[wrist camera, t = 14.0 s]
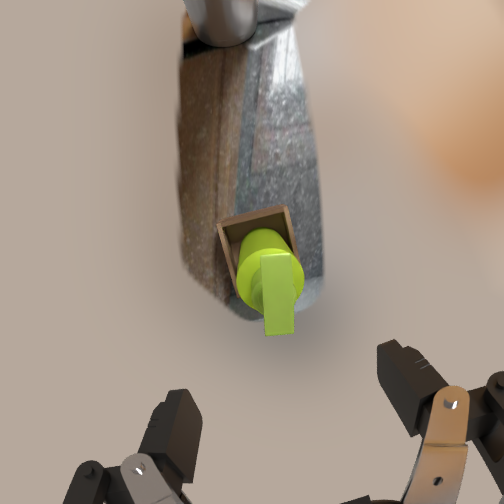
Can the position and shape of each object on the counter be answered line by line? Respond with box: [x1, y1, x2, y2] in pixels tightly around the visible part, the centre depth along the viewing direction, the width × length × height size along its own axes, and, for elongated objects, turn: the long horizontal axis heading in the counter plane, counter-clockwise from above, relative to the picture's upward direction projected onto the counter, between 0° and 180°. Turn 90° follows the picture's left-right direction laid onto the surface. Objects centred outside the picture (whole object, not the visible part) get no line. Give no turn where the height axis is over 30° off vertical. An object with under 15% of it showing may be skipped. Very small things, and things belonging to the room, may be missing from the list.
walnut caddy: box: [216, 204, 301, 298], centre depth 35 cm, size 9×8×5 cm
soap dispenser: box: [236, 227, 304, 336], centre depth 26 cm, size 6×7×20 cm
